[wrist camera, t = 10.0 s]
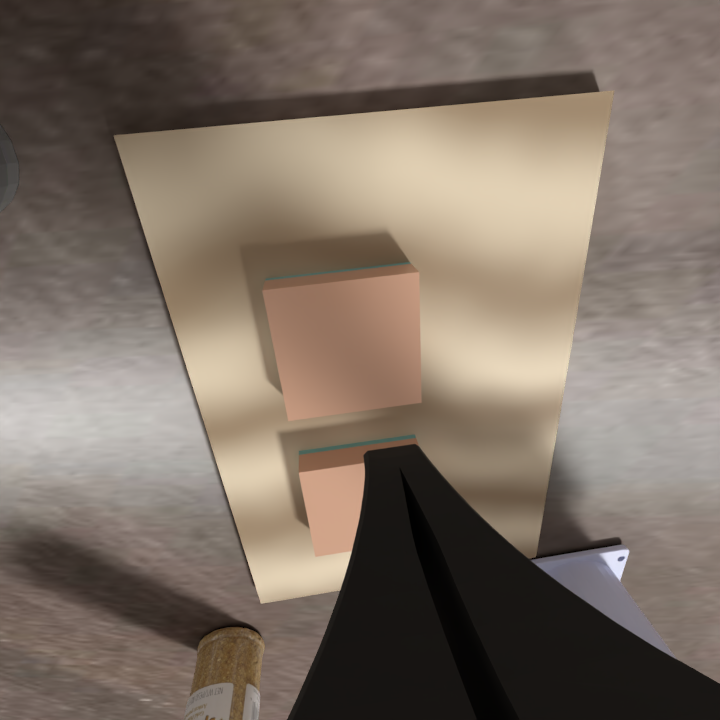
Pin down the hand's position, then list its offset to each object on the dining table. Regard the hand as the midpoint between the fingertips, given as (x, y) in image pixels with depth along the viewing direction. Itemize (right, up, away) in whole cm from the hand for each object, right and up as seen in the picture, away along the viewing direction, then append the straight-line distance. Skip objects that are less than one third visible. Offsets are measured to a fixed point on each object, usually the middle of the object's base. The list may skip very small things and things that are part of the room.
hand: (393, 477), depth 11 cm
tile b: (+2, +4, +7) cm, 9 cm away
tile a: (+2, -4, +12) cm, 13 cm away
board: (+1, +1, +11) cm, 11 cm away
